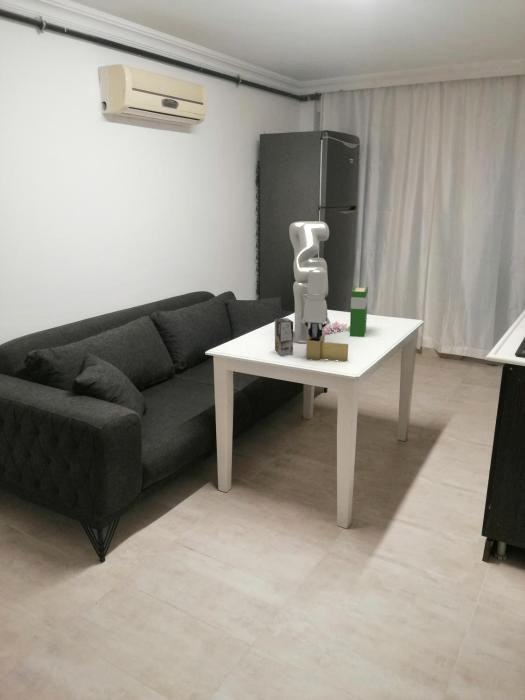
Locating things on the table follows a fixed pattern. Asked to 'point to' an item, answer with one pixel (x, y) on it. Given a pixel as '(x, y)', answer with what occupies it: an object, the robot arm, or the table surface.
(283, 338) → the coffee box
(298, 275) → the robot arm
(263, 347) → the table surface
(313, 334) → the pin
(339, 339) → the table surface
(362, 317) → the hardback book
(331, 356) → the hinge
